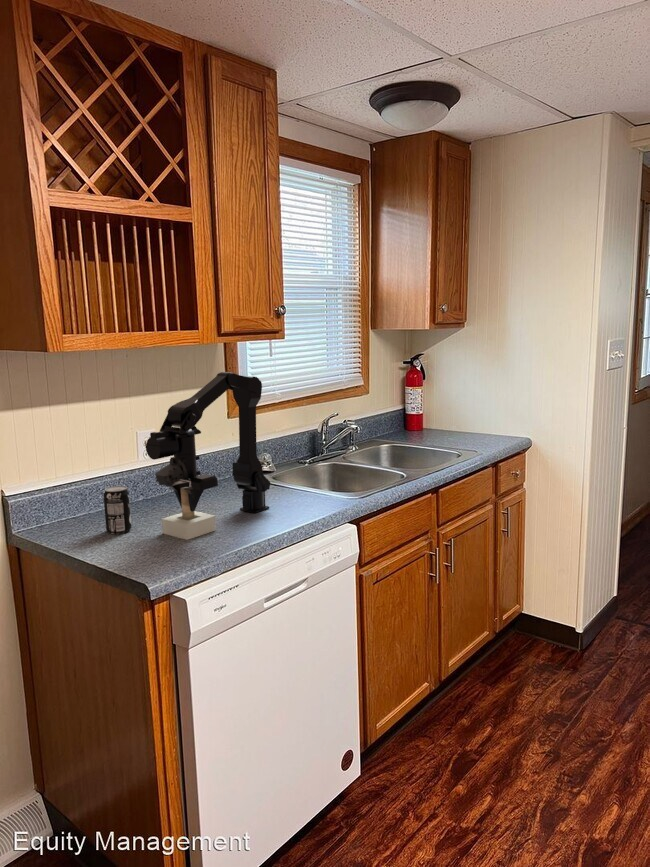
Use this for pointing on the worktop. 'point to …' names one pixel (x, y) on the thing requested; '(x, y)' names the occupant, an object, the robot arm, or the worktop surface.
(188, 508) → the peg
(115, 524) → the beverage can
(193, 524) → the socket
